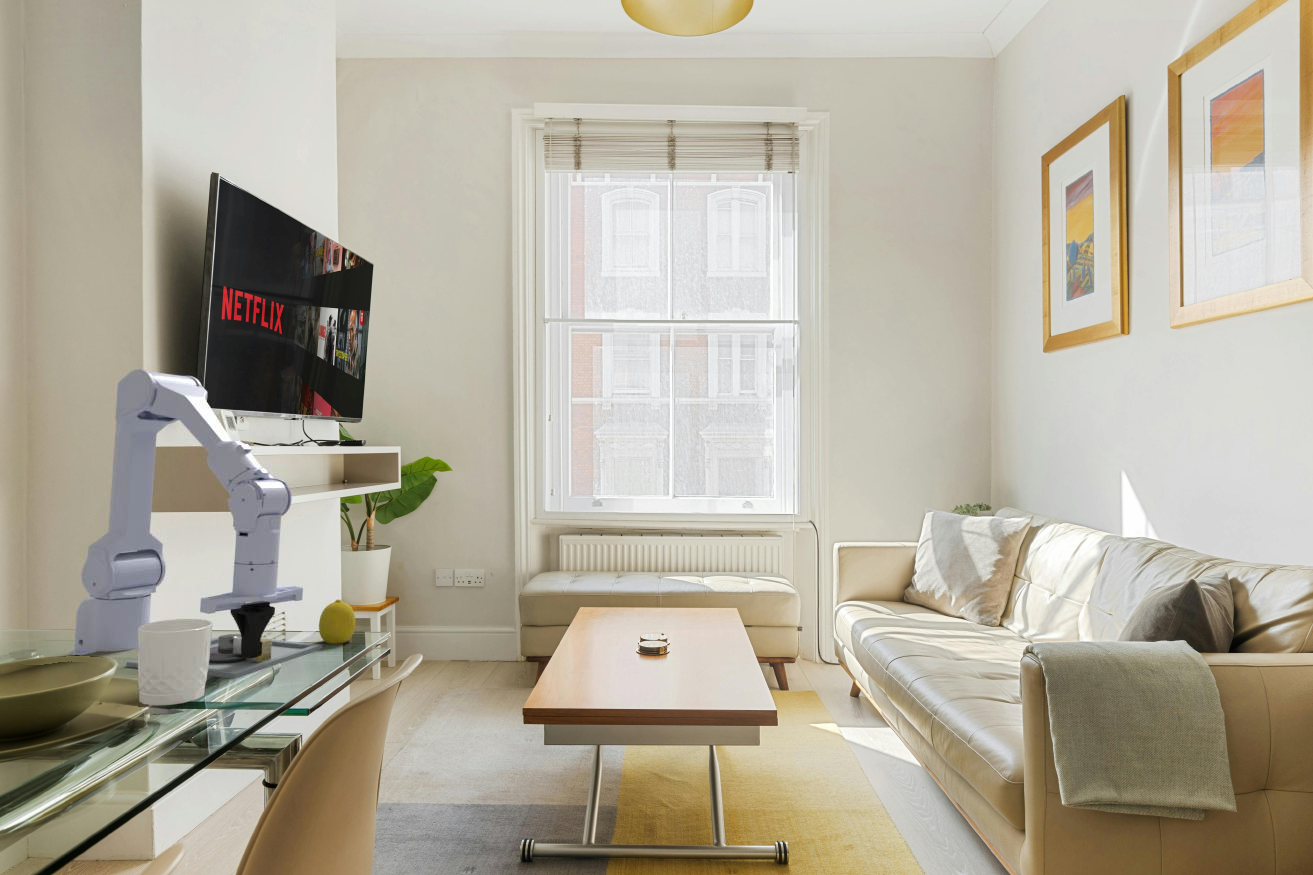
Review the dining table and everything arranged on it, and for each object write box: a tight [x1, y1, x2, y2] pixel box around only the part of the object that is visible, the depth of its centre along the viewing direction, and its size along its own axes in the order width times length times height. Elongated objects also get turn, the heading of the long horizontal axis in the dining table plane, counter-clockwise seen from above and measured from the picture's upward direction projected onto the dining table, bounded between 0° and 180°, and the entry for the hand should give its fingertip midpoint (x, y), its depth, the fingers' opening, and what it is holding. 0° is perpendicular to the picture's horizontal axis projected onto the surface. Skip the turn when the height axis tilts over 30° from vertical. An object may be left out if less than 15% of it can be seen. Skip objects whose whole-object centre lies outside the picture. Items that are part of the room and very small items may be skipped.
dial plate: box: [125, 637, 323, 679], centre depth 115 cm, size 18×18×2 cm
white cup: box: [137, 618, 214, 715], centre depth 96 cm, size 8×8×10 cm
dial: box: [209, 633, 273, 663], centre depth 115 cm, size 11×8×3 cm
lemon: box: [318, 599, 356, 645], centre depth 127 cm, size 6×6×8 cm
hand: (250, 656), depth 112 cm, fingers closed, pressing on dial
